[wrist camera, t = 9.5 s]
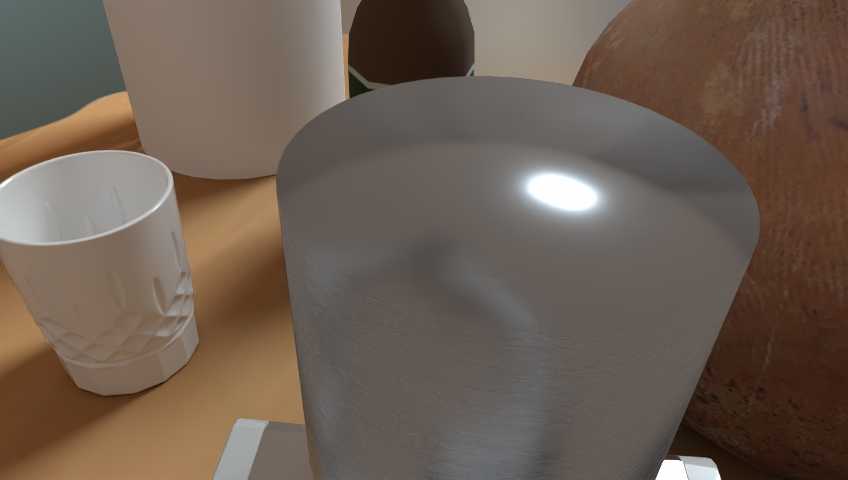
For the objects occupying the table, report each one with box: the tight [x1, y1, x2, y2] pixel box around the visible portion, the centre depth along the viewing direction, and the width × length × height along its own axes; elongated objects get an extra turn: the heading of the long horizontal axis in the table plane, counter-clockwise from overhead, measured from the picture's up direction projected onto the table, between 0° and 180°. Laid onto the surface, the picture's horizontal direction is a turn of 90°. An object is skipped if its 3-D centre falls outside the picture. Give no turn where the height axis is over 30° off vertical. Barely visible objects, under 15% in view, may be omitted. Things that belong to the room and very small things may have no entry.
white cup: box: [0, 150, 199, 396], centre depth 32 cm, size 8×8×10 cm
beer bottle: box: [348, 0, 474, 98], centre depth 39 cm, size 8×8×24 cm
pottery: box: [572, 0, 848, 480], centre depth 27 cm, size 23×23×25 cm
